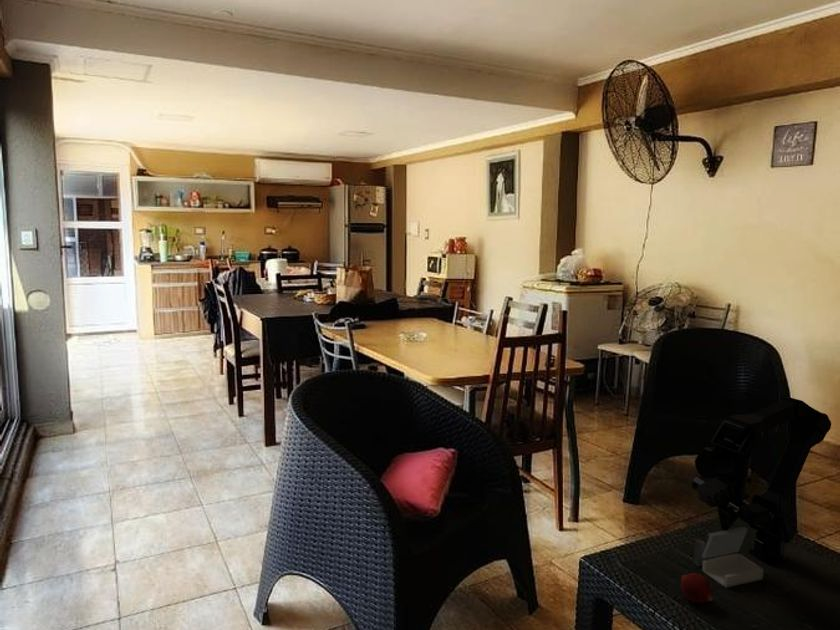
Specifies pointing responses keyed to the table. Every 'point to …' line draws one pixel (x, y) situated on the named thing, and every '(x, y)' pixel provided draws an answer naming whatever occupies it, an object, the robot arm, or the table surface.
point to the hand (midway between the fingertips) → (724, 531)
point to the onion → (696, 588)
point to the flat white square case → (727, 567)
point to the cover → (724, 542)
